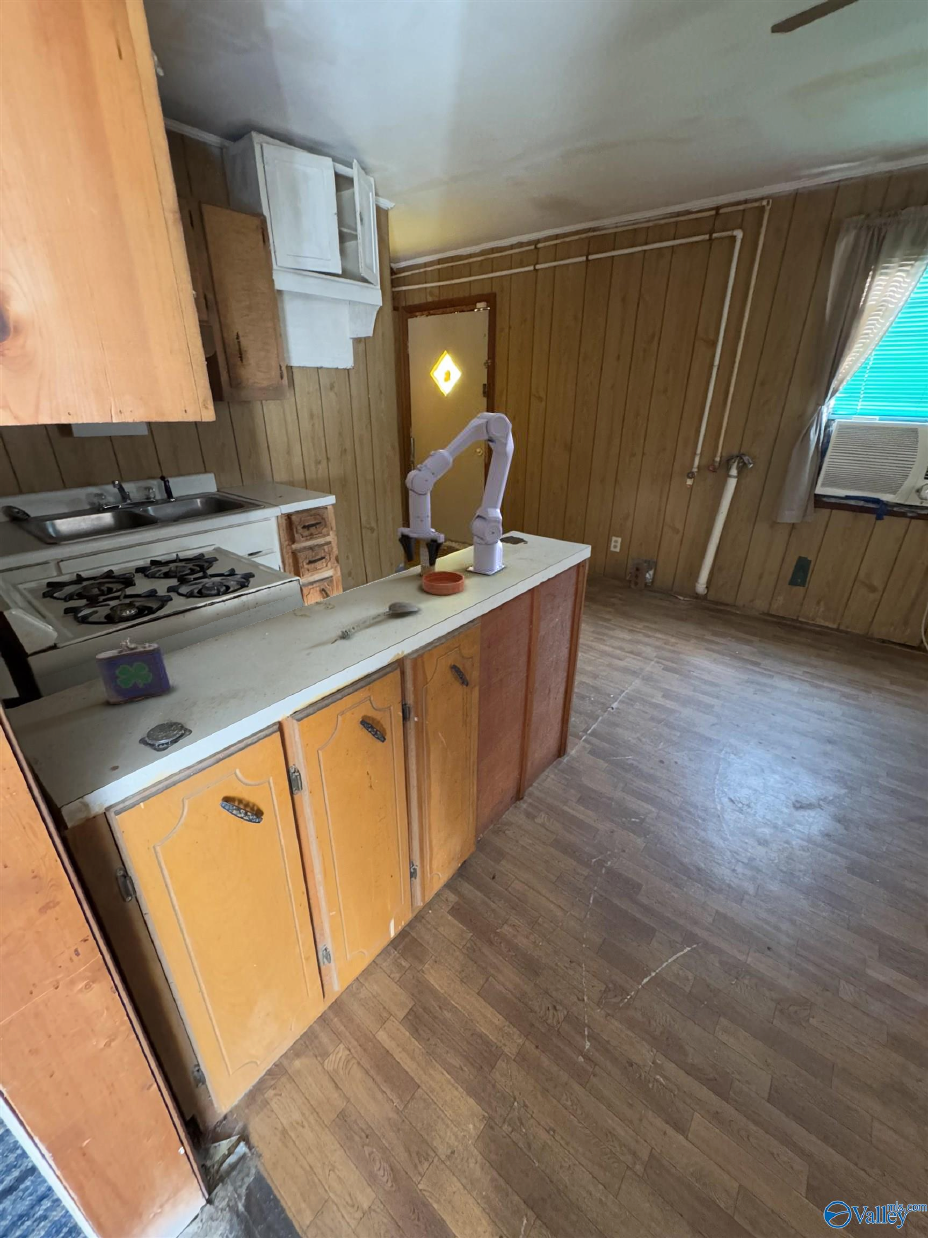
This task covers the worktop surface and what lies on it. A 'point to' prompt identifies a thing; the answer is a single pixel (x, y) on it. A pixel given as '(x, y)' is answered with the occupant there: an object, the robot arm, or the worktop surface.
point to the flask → (133, 672)
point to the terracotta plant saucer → (443, 582)
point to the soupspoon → (392, 608)
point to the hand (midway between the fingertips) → (421, 563)
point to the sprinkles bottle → (425, 557)
